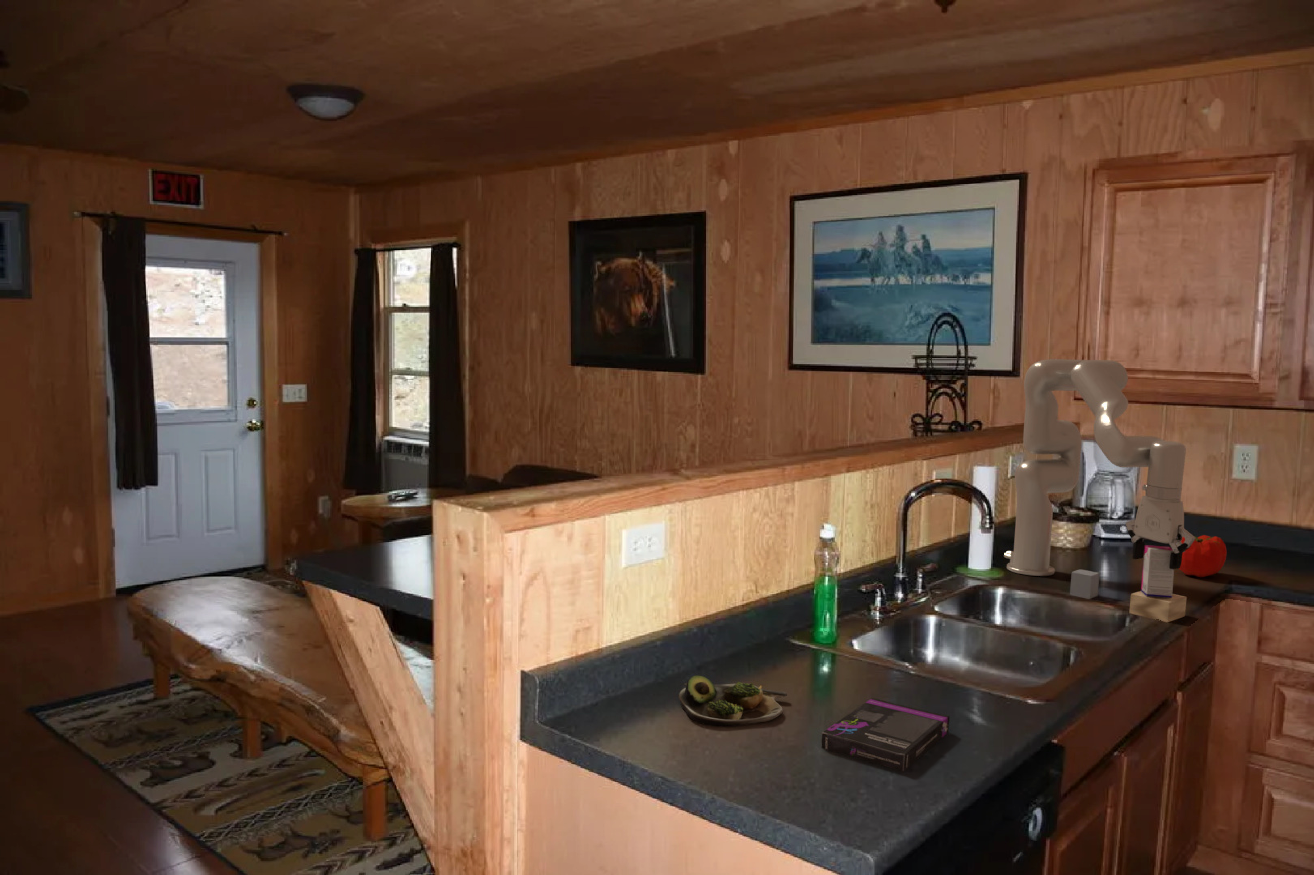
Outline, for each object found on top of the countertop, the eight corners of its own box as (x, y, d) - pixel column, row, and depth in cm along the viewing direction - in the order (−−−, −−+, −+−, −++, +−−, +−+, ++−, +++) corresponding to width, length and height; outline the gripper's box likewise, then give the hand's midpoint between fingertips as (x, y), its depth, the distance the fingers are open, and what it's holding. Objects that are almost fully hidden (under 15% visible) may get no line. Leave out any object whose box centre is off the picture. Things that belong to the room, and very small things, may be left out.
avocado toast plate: (771, 686, 185) (772, 662, 184) (807, 724, 168) (808, 698, 167) (670, 692, 181) (670, 668, 180) (695, 732, 163) (696, 705, 163)
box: (871, 716, 174) (819, 750, 158) (872, 696, 173) (820, 729, 158) (949, 736, 165) (903, 774, 150) (950, 715, 165) (904, 751, 149)
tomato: (1173, 577, 277) (1177, 536, 276) (1168, 566, 290) (1171, 527, 289) (1228, 583, 272) (1231, 541, 271) (1220, 572, 285) (1224, 531, 284)
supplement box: (1173, 598, 236) (1175, 550, 235) (1146, 596, 237) (1148, 549, 236) (1166, 592, 241) (1169, 545, 240) (1140, 591, 243) (1142, 544, 242)
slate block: (1069, 595, 256) (1071, 572, 255) (1078, 591, 259) (1079, 569, 259) (1089, 599, 252) (1091, 575, 252) (1097, 595, 256) (1099, 572, 255)
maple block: (1129, 614, 240) (1130, 593, 240) (1147, 608, 246) (1148, 588, 245) (1167, 623, 233) (1169, 602, 233) (1184, 617, 239) (1186, 596, 238)
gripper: (1120, 487, 242) (1113, 556, 245) (1187, 501, 227) (1179, 574, 230) (1140, 485, 246) (1133, 553, 248) (1207, 499, 231) (1199, 571, 233)
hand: (1155, 563), depth 239 cm, fingers open, 9 cm apart
